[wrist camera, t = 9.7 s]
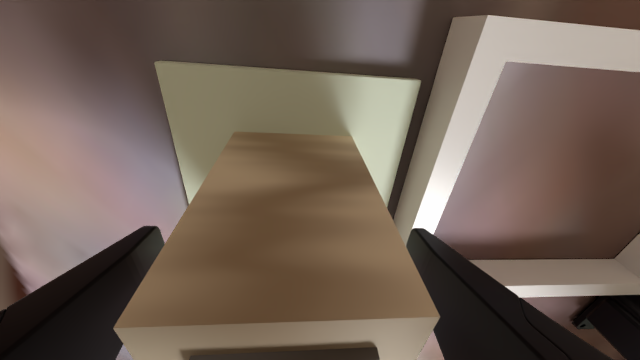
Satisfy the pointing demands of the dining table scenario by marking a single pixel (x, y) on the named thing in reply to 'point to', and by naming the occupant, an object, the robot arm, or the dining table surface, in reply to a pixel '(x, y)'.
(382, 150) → the sage pad
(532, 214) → the dining table surface
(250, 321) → the birch parts box
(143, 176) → the dining table surface
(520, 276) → the white rectangular frame
